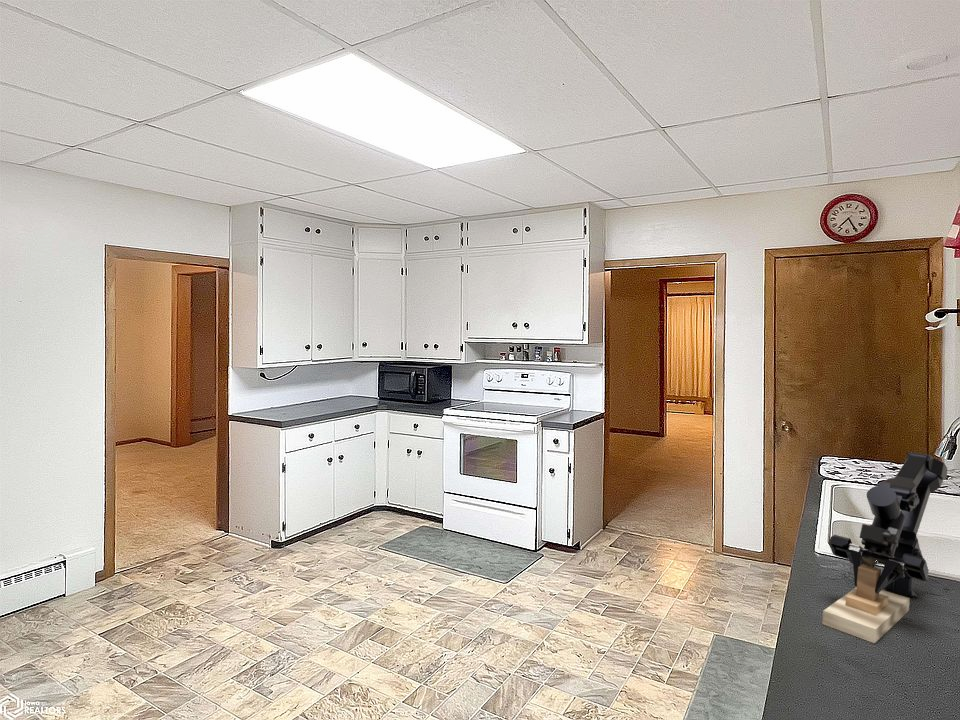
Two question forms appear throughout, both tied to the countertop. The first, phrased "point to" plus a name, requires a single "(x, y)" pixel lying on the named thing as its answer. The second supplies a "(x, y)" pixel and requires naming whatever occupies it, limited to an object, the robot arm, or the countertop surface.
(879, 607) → the block
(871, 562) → the hand tool
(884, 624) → the board
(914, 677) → the countertop surface
